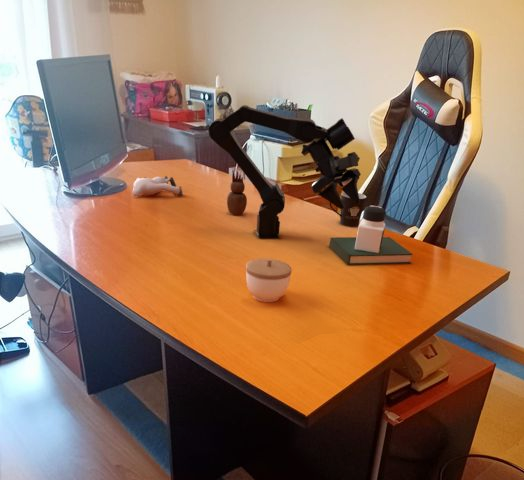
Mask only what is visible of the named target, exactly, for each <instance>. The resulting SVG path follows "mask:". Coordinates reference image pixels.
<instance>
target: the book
mask: <svg viewBox="0 0 524 480" xmlns="http://www.w3.org/2000/svg"><path fill="white" fill-rule="evenodd" d="M356 237H357V236H353V237H351V236H350V237H347V236H345V237H341V236H340V237H330V238H329V245H328V248H329V249H330V250H331V251H333V252H334V254H336V255H337V257H339V259H341V260H342V261H343V263H344V264H346V265H347V266H364V265H370V266H371V265H403V264H405V265H406V264H411V263H412V262H411V258H412V256H413V253H412V252H411V251H409V250H408V249H407V248H405V247H404V246H403V245H401V244H400V243H399V242H397V241H396V240H394V239H393V238H392V237H390V236H383V240H382V245H381V248H380V252H379V253H372V252H366V251H360V250H355V243H356Z"/></svg>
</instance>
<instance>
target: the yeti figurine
mask: <svg viewBox="0 0 524 480" xmlns="http://www.w3.org/2000/svg"><path fill="white" fill-rule="evenodd" d="M162 191H164V192H168V193H171V194H172V195H173V196H178V197H181V196H183V189H182V186H180V185H179V186H177V184H176V182H175V179H174V177H173V176H170V177H168V176H167V175H165V176H164V177H162V176H155V177H153V178H149V177H137V178H136V180H134V181H133V188H132V195H133V197H141V196H143V195H145V196H153V195H155V194H157V193H160V192H162Z"/></svg>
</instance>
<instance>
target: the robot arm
mask: <svg viewBox="0 0 524 480" xmlns="http://www.w3.org/2000/svg"><path fill="white" fill-rule="evenodd" d="M244 123H249V124H253V125H257V126H259V127H264V128H268V129H271V130H276V131H279V132H283V133H285V134H287V135H289V136H291V137H292V138H294V139H296V140H299V141H300V142H303V143H309V144H302V149H301V154H302V155H303V156H304V157H305V156H307V155H308V154H309V155H310V157H311V159H312V162H313V163H314V164H315V166H316V168H315V169H314V170H315V173H320V175H321V176H320V177H319V178H317V180H315V181H314V182H313V183H312V184H311V190H312V193H313V194H314V195H317V196H318V197H321V198H322V199H324V200H326V201H328V202H329V203H330V202H331V205H333V206H335V207H337V208H338V209H339V210H341V209H343V208H344V205H343V203H342V200H341V196H340V194H339V192H338V186H339V187H341V188H340V190H341V191H342V192H343V193H344V192H345V193H346V194H347V195H348V196H349V197H350V198H351V199H352V200H353V201H354V202H355V203H356V204H359V203H360V200H359V195H358V193H359V190H358V181H359V179H361V178H360V176H361V175H362V174H361V172H360V170H359V169H358V168H356V167H358V166H359V161H360V156H359V155H358V154H357V153H356V151H352V152H349V153H347V155H346V156H344V157H340V156H338V155H334V153H333V152H332V150H338V151H339V150H341V149H342V148H344V147H346V146H347V145H349V144H350V143H352V142H353V141H354V140H356V137H355V135H354V134H353V133H352V130H351V129H350V128H349V126H348V125H347V123H346V122H345V120H344V118H340V119H338V120H337V121H336V122H335V123H334V124H332V125H331V126H330V127H328V128H325V127H323V126H321V125H317V124H316V122H315V121H314V119H312V118H309V117H287V116H283V115H281V114H280V115H279V114H276V113H272V112H269V111H265V110H261V109H258V108H254V107H250V106H249V105H246V104H243V105H241V106H240V107H239V108H238V109H237V110H235V111H234V112H232V113H231V114H229V115H227V116H226V117H224V118H222V117H219V118H216V119H215V120H214V121H212V123H211V124H210V125H209V127H208V136H209V138H210V139H211V140H212V141H213V142H214V143H215V144H216V145H217V146H218V147H219V148H221V149H222V150H224V151H225V152H226V153H228V154H229V156H230V157H231V158H232V160H233V161H234V162H235V163H236V165H237V166H238V167H239V168H240V170H241V171H242V173H243V174H244V175H245V176H246V178H247V179H248V180H249V181H250V183H251V184H252V186H254V188H255V189H256V191H257V192H258V195H259V196H260V199H261V201H262V203H261V204H260V205H259V209H258V213H257V214H256V229H254V233H255V235H256V236H257V237H258V238H259V239H280V238H279V237H280V236H279V235H280V227H281V221H280V220H279V219H280V217H279V216H278V215H280V214H281V213H282V212H283V211H284V209H285V206H286V205H285V204H286V197H285V191H284V190H282V188H281V187H280V186H279V183H278V182H277V181H276V182H274V184H273V183H271V182H269V180H268V179H267V178H266V177H265V175H264V174H263V173H262V171H260V169H259V168H258V166H257V165H256V163H255V162H254V161H253V160H252V158H251V156H249V154H248V153H247V152H246V151H245V149H244V148H243V147H242V145H241V143H240V142H239V140H238V137H237V135H236V133H235V131H234V130H235V129H237V128H238V127H240V126H241V125H243V124H244ZM327 142H328V143H327ZM329 145H330V146H329ZM330 147H331V148H330ZM331 149H332V150H331ZM354 167H355V168H354Z"/></svg>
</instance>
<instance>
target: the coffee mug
mask: <svg viewBox="0 0 524 480" xmlns="http://www.w3.org/2000/svg"><path fill="white" fill-rule="evenodd" d="M340 195H341V196H340V198H341V200H342V203H343V205H344V208H343V209H340V213H339V212H338V211H337V210H336V209H334V208H333V206H332V203H331V202H329V207H330V209H331V210H332V211H333V212H334V213H336V214H337V215H338V217H340V218H339V219H340V220H339V223H340V225H341V226H344V227H349V228H350V227H351V228H354V227H355V228H356V227H358V226H359V224H360V222H361V217H362V215H363V214H362V213H363V211H364V208H365V207H364V206H365V203H366V199H367V196H366V195H365V194H363V193H360V192H358V195H359V200H360V203H359V204H356V203H355V202H354V201H353V200H352V199H351V198H350V197H349V196H348V195H347V194H346V193H345V192H344V191H343V192H342V193H340Z"/></svg>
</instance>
